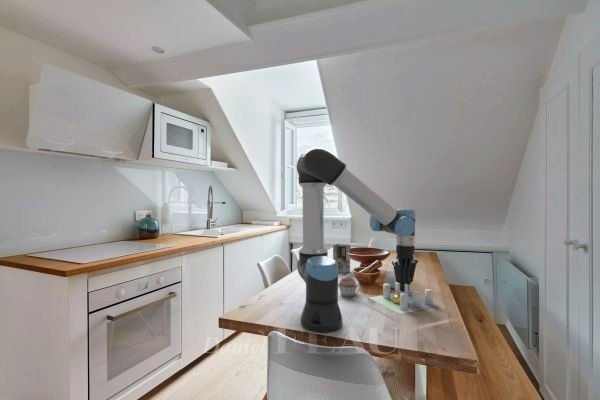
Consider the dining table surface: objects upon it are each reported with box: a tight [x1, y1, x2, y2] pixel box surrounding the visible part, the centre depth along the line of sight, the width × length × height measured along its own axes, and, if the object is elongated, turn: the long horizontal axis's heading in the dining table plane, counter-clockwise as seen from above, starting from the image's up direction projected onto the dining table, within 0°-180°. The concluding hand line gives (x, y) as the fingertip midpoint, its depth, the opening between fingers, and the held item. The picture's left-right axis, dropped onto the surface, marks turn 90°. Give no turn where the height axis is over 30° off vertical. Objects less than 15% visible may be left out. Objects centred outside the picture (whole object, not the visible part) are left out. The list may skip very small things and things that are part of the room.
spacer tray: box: [368, 282, 441, 315], centre depth 129 cm, size 22×20×7 cm
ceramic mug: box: [384, 272, 396, 290], centre depth 150 cm, size 11×8×8 cm
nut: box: [392, 293, 400, 305], centre depth 128 cm, size 5×5×3 cm
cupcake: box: [338, 273, 359, 298], centre depth 140 cm, size 9×9×10 cm
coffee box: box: [332, 243, 351, 274], centre depth 183 cm, size 9×6×16 cm
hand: (404, 298), depth 129 cm, fingers closed
